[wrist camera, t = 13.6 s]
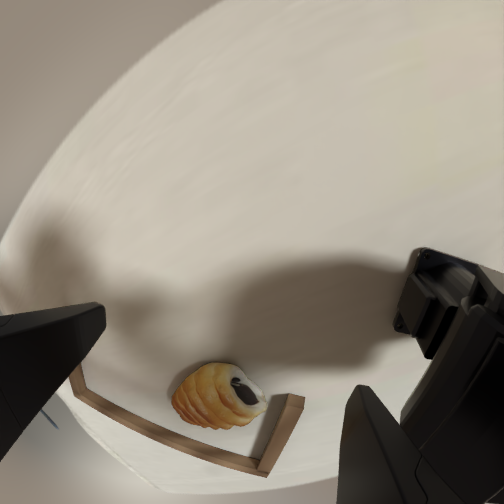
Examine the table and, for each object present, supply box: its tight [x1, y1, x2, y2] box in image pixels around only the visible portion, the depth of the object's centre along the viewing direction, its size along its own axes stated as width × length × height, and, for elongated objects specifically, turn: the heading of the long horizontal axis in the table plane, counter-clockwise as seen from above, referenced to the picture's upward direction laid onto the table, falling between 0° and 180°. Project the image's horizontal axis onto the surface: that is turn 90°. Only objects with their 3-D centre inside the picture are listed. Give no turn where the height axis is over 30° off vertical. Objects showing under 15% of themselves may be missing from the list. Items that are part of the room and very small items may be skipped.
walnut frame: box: [69, 363, 305, 478], centre depth 26 cm, size 27×14×2 cm, turn 79°
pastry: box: [172, 362, 267, 430], centre depth 23 cm, size 9×7×4 cm
